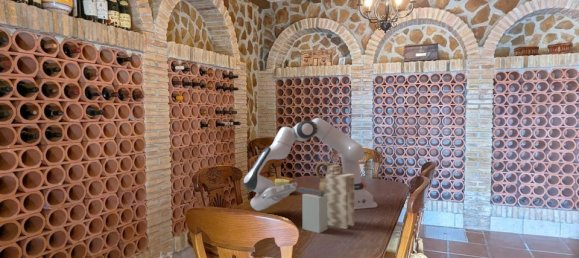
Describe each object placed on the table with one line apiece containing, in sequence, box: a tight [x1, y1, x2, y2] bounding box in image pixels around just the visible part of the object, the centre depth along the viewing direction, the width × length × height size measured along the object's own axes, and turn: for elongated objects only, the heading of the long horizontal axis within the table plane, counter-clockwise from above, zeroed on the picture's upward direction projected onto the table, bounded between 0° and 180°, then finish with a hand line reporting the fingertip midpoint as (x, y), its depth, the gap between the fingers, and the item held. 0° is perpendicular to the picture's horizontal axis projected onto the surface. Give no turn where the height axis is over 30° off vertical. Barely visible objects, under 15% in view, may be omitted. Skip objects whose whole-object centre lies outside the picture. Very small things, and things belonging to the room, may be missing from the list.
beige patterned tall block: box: [325, 164, 355, 230], centre depth 182 cm, size 12×8×30 cm, turn 51°
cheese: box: [274, 178, 290, 196], centre depth 251 cm, size 10×11×10 cm
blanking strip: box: [297, 186, 324, 196], centre depth 177 cm, size 14×3×2 cm, turn 51°
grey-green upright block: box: [301, 193, 328, 234], centre depth 176 cm, size 10×7×17 cm
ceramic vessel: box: [314, 161, 338, 195], centre depth 233 cm, size 18×19×25 cm
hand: (290, 185), depth 185 cm, fingers open, 8 cm apart
